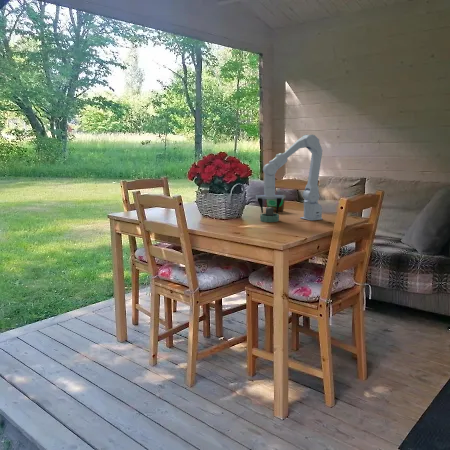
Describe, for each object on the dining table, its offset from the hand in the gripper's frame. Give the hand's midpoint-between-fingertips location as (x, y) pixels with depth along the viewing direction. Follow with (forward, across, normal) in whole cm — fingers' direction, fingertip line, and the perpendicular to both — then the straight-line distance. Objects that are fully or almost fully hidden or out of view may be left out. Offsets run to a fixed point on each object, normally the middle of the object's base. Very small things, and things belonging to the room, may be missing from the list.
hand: (269, 212), depth 244 cm
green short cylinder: (+4, 0, 0) cm, 4 cm away
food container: (+4, -3, -29) cm, 29 cm away
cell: (+4, 0, 0) cm, 4 cm away
